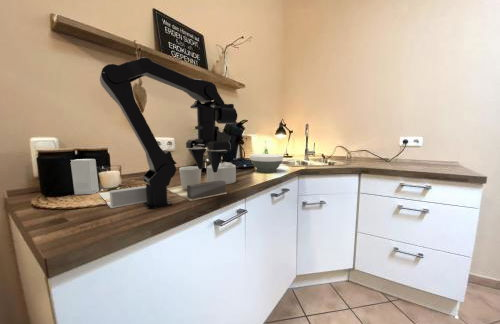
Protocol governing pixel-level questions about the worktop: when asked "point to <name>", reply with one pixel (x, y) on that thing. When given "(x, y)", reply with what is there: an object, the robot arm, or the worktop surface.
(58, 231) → the worktop surface
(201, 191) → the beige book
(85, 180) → the skincare box
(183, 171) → the cup
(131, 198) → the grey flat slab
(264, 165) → the bowl
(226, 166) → the lumpy-topped squat cylinder
